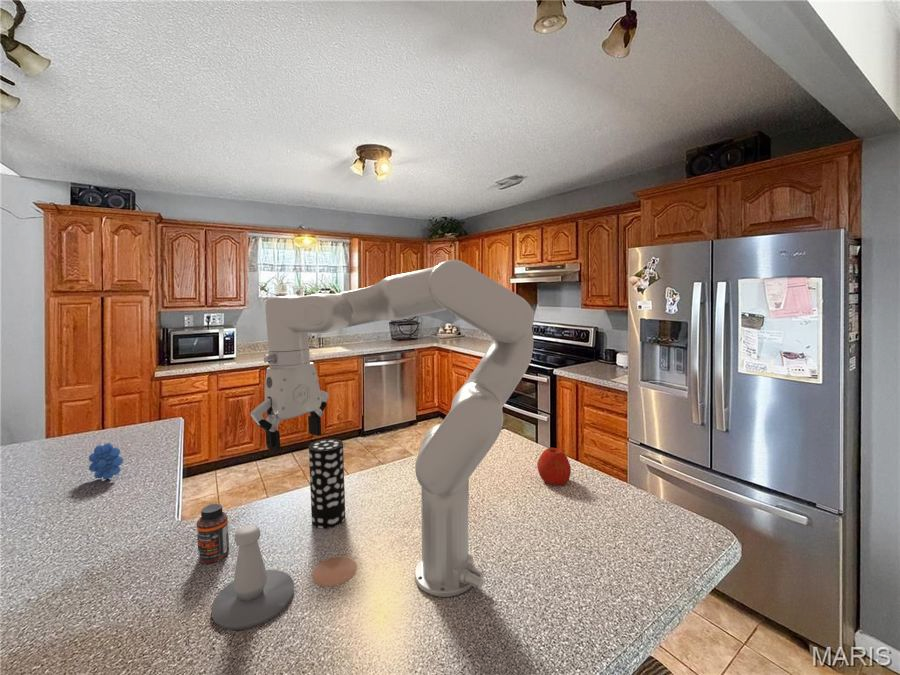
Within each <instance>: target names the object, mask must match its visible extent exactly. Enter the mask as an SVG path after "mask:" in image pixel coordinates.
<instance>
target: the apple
mask: <svg viewBox="0 0 900 675" xmlns="http://www.w3.org/2000/svg"><path fill="white" fill-rule="evenodd" d="M536 465H537V466H536V468H537V471H538V474H539V476H540V478H541V479H542V481H543V482H545V483H546V484H548V485H552V486H564V485H566V484H567V483H568V482H570V478H571V475H572V474H571V473H572V472H571V469H572V468H571V463H570V461H569V459H568V457H567V455H566V454H565V452H564V451H563V450H562V449H561V448H557V447H548V448H546V449H544V450H543V451H542V453H541V454H540V456H539V458H538V460H537V463H536Z"/></svg>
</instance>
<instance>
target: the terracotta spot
mask: <svg viewBox="0 0 900 675" xmlns="http://www.w3.org/2000/svg"><path fill="white" fill-rule="evenodd" d="M357 566H358V565H357V563H356V561H355V560H354V559H352V558H350V557H347V556H334V557H333V556H332V557H330V558H327V559H324V560H322V561H320V562H319V563H318V564H317V565H315V567H314V568H313V569H312V572H311V578H312V580H313V582H314V583H316V584H317V585H319V586H323V587H335V586H338V585H341V584H344V583H346V582H348V581H349V580H351V579H352V578H353V577H354V575H355V574H356V572H357V568H358V567H357Z"/></svg>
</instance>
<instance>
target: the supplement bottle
mask: <svg viewBox="0 0 900 675" xmlns="http://www.w3.org/2000/svg"><path fill="white" fill-rule="evenodd" d="M228 520H229V517H228V514H227V513H226V512H224V511H223V505H222V504H220V503H210V504H208V505H204V506H203V507H202V508H201V510H200V517H199V518H198V520H197V522H196V536H197V537H196V539H197V554H198V560H199V561H200V562H201V563H203V564H212V562H213V563H216V562H218V560H219V561H221V560H223V559H222V558H225V557H227V555H228V554H229V553H230V552H229V551H230V541H229V540H230V539H229V538H230V537H229V521H228ZM215 561H216V562H215Z"/></svg>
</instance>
